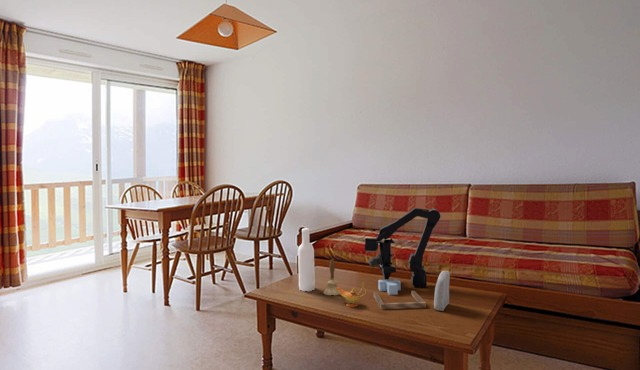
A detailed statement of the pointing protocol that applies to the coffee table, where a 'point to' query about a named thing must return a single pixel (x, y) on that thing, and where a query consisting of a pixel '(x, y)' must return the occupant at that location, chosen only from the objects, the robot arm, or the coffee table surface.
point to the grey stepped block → (390, 286)
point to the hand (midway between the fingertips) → (385, 282)
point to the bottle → (306, 263)
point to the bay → (418, 304)
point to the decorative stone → (442, 291)
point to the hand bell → (331, 281)
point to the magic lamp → (350, 295)
